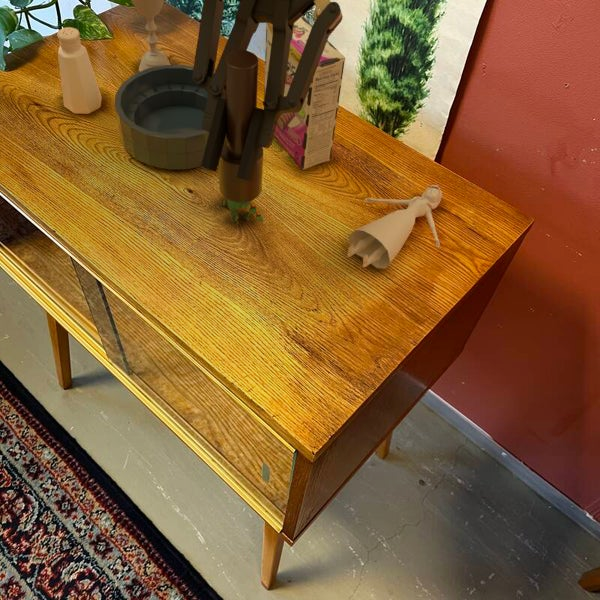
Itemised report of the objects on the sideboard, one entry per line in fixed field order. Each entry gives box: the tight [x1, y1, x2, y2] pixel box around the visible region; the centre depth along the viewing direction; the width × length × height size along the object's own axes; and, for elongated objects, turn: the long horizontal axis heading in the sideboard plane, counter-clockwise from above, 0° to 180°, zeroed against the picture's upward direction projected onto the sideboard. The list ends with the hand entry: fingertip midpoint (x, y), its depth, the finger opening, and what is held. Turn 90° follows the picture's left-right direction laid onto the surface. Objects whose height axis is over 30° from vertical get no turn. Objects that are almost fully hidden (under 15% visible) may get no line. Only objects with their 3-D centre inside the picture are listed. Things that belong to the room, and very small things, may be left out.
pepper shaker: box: [56, 26, 103, 115], centre depth 91 cm, size 5×5×11 cm
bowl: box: [113, 64, 226, 171], centre depth 90 cm, size 16×16×6 cm
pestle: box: [218, 50, 264, 203], centre depth 63 cm, size 4×4×15 cm
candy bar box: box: [263, 15, 346, 171], centre depth 87 cm, size 11×5×16 cm, turn 32°
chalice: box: [130, 0, 172, 72], centre depth 94 cm, size 7×7×18 cm
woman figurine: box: [347, 184, 443, 270], centre depth 83 cm, size 12×4×18 cm
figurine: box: [214, 164, 265, 225], centre depth 81 cm, size 3×12×8 cm, turn 31°
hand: (226, 174), depth 63 cm, fingers closed on pestle, 3 cm apart
